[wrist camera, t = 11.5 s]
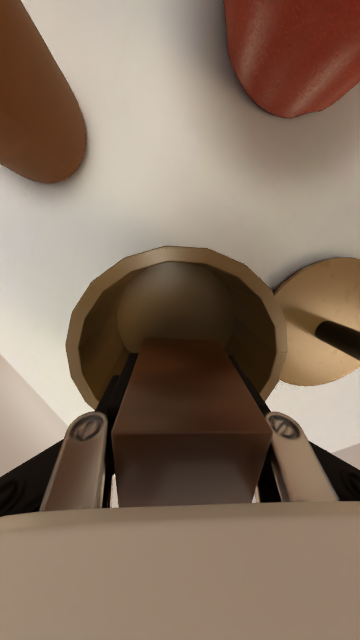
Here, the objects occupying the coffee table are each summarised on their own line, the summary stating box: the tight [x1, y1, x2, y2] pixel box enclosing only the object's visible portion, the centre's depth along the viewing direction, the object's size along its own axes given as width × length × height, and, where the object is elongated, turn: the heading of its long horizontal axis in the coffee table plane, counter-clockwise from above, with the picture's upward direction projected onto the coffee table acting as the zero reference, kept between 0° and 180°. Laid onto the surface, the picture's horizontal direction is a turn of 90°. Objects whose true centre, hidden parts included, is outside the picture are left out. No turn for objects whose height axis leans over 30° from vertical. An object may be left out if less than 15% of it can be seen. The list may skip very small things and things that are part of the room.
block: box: [111, 338, 273, 508], centre depth 8 cm, size 4×4×6 cm
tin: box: [66, 246, 287, 410], centre depth 16 cm, size 15×15×8 cm
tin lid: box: [274, 258, 360, 386], centre depth 18 cm, size 16×16×7 cm
